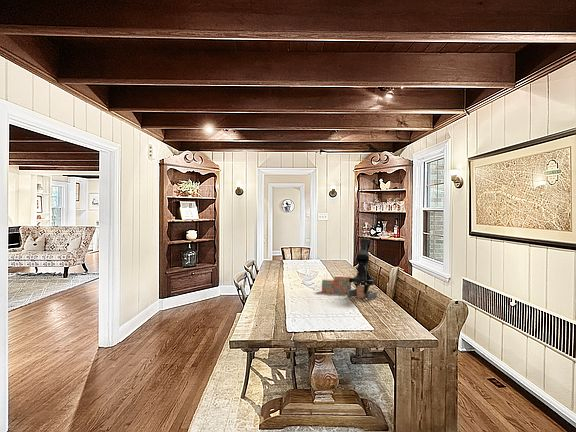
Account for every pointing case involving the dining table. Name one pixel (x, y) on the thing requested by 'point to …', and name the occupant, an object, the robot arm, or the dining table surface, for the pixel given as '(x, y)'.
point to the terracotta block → (361, 291)
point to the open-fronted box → (369, 294)
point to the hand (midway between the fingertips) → (361, 293)
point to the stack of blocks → (336, 284)
